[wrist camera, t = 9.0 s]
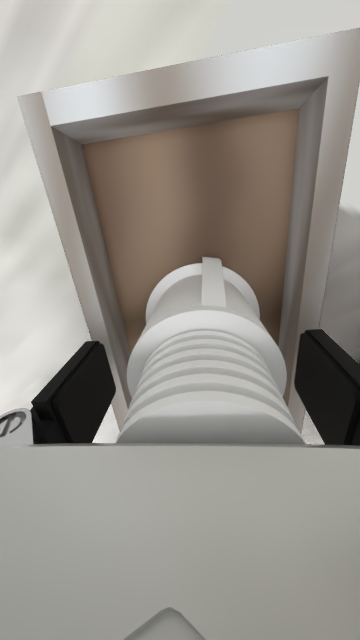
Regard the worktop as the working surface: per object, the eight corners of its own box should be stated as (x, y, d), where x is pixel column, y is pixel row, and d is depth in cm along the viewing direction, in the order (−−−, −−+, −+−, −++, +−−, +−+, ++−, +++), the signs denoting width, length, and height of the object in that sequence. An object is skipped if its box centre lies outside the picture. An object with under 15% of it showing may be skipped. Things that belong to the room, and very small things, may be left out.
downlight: (244, 376, 16) (311, 584, 7) (146, 365, 16) (76, 551, 7) (271, 259, 13) (466, 341, 4) (148, 248, 13) (28, 299, 4)
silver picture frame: (316, 85, 10) (369, 26, 7) (279, 430, 19) (294, 472, 16) (67, 129, 12) (16, 96, 8) (142, 430, 21) (131, 469, 17)
